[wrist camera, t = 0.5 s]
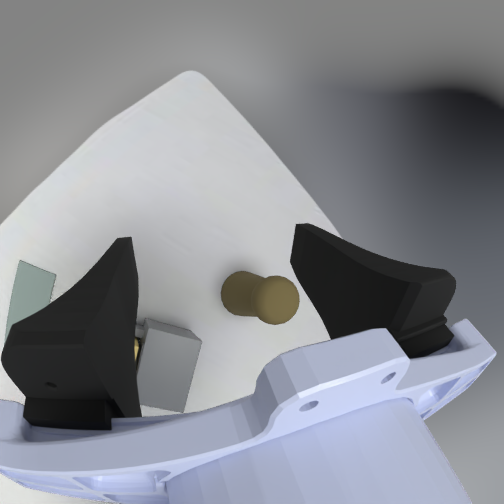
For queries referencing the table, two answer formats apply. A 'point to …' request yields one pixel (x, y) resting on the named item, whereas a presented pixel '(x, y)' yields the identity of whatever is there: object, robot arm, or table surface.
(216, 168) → the table surface
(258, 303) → the cork
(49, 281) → the mat
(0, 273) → the table surface
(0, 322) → the table surface
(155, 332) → the grey boxy piece
